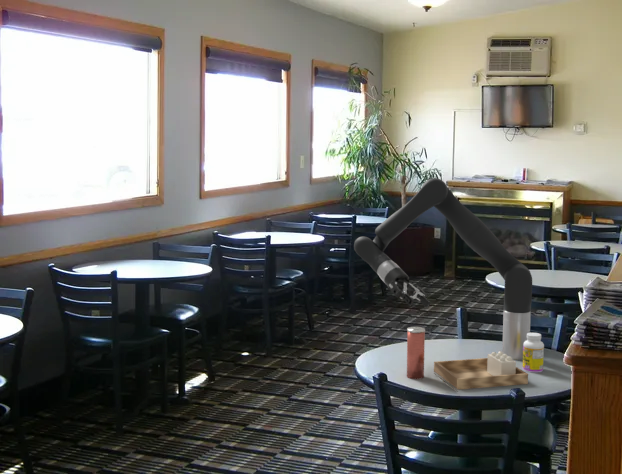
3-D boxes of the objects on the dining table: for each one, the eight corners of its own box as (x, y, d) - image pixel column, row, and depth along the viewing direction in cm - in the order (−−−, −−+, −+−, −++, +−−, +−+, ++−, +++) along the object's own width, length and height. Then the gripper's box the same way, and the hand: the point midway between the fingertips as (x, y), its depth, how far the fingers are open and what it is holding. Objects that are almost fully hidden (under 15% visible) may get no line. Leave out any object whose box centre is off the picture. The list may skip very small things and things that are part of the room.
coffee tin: (420, 373, 268) (421, 326, 266) (426, 378, 262) (427, 330, 260) (403, 374, 267) (404, 327, 265) (410, 379, 261) (410, 331, 259)
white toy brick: (501, 370, 268) (501, 349, 267) (515, 379, 259) (516, 357, 258) (487, 371, 267) (487, 350, 266) (500, 380, 257) (501, 358, 256)
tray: (499, 368, 273) (499, 357, 273) (527, 386, 254) (528, 373, 254) (433, 373, 268) (434, 361, 267) (457, 391, 249) (458, 379, 249)
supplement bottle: (519, 369, 273) (520, 331, 271) (538, 368, 273) (540, 331, 272) (526, 375, 266) (527, 337, 265) (546, 374, 267) (547, 336, 265)
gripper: (384, 264, 273) (412, 293, 263) (411, 269, 283) (439, 297, 272) (373, 282, 276) (400, 311, 265) (401, 286, 285) (428, 314, 275)
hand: (420, 304), depth 269 cm, fingers open, 8 cm apart
